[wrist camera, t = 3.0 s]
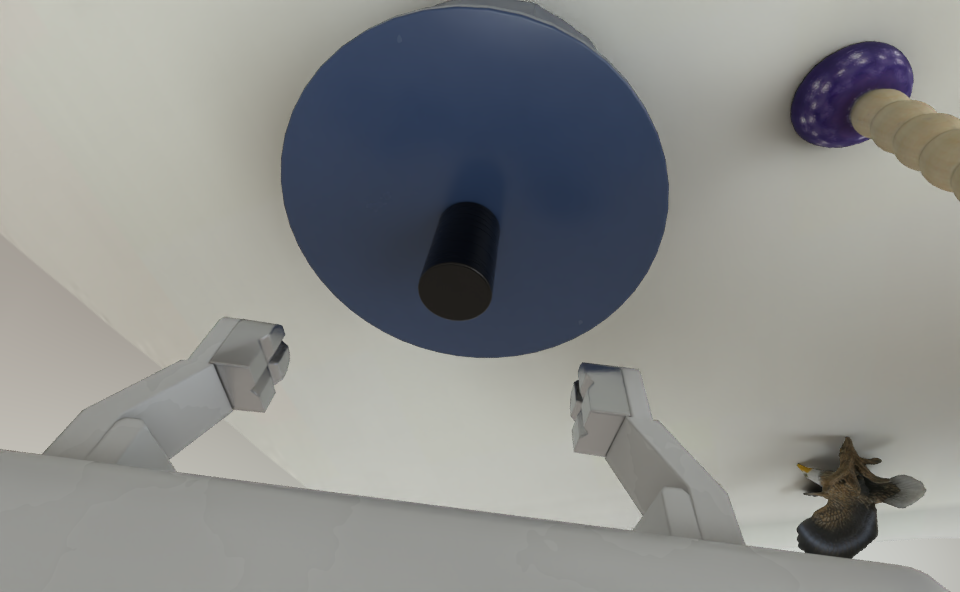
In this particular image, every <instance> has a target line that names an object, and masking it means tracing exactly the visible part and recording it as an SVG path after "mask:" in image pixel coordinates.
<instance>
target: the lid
mask: <svg viewBox="0 0 960 592" xmlns="http://www.w3.org/2000/svg"><path fill="white" fill-rule="evenodd" d="M281 185H282V192H283V200H284V205H285V209H286V213H287V216H288V220H289V224H290V227H291V229H292V231H293V234H294V236H295V238H296V241H297V243H298V246H299V247H300V249H301V251H302V253H303V254H304V256H305V258H306V260H307V261H308V263H309V265H310V266H311V267H312V269H313V270H314V271H315V273H316V274H317V276H318V277H319V278H320V280H321V281H322V282H323V283H324V284H325V285H326V287H327V288H328V289H329V290H330V291H331V292H332V293H333V294H334V295H335V296H336V297H337V298H338V299H339V300H340V301H341V302H342V303H343V304H345V305H346V306H347V307H348V308H349V309H350V310H351V311H353V312H354V313H356V314H357V315H358V316H360V317H361V318H362V319H364V320H365V321H366V322H368V323H370V324H371V325H373V326H375V327H376V328H378V329H380V330H381V331H383V332H385V333H387V334H389V335H391V336H393V337H395V338H398V339H400V340H402V341H404V342H407V343H410V344H412V345H415V346H418V347H421V348H424V349H428V350H432V351H435V352H439V353H444V354H450V355H455V356H464V357H475V358H499V357H510V356H518V355H524V354H529V353H535V352H538V351H542V350H545V349H549V348H552V347H555V346H557V345H560V344H562V343H565V342H567V341H570V340H572V339H574V338H576V337H578V336H580V335H582V334H584V333H585V332H587V331H589V330H591V329H592V328H594V327H595V326H597V325H598V324H599V323H601V322H602V321H604V320H605V319H607V318H608V317H609V316H610V315H611V314H612V313H614V312H615V311H616V310H617V309H618V308H619V307H620V306H621V305H622V304H623V303H624V302H625V301H626V300H627V299H628V298H629V297H630V295H631V294H632V293H633V292H634V291H635V290H636V288H637V287H638V285H639V284H640V282H641V281H642V280H643V278H644V277H645V275H646V274H647V272H648V270H649V268H650V266H651V264H652V262H653V260H654V258H655V256H656V254H657V252H658V249H659V246H660V243H661V240H662V237H663V234H664V230H665V224H666V219H667V213H668V197H669V182H668V175H667V167H666V160H665V156H664V153H663V149H662V146H661V143H660V139H659V136H658V133H657V131H656V129H655V127H654V125H653V123H652V120H651V118H650V116H649V114H648V112H647V110H646V108H645V106H644V105H643V103H642V101H641V100H640V99H639V97H638V96H637V94H636V93H635V91H634V90H633V88H632V87H631V86H630V84H629V83H628V81H627V80H626V79H625V78H624V77H623V76H622V74H621V73H620V72H619V71H618V70H617V69H616V68H615V67H614V66H613V65H612V64H611V63H610V62H609V61H608V60H607V59H606V58H605V57H604V56H603V55H601V54H600V53H599V52H597V51H596V50H595V49H594V48H592V47H591V46H590V45H588V44H587V43H586V42H585V41H583V40H582V39H580V38H579V37H577V36H575V35H573V34H571V33H570V32H568V31H566V30H564V29H562V28H561V27H559V26H557V25H555V24H553V23H551V22H548V21H545V20H543V19H540V18H537V17H535V16H532V15H529V14H526V13H524V12H520V11H515V10H510V9H505V8H500V7H495V6H489V5H468V4H454V5H445V6H436V7H427V8H423V9H419V10H416V11H412V12H408V13H405V14H401V15H397V16H395V17H393V18H391V19H388V20H386V21H384V22H382V23H380V24H377V25H375V26H373V27H371V28H369V29H367V30H366V31H364V32H363V33H361V34H360V35H358V36H357V37H355V38H354V39H352V40H351V41H349V42H348V43H346V44H345V45H343V46H342V47H341V48H340V49H339V50H337V51H336V52H335V53H334V54H333V55H332V56H331V57H330V58H329V59H328V60H327V61H326V62H325V63H324V64H323V65H322V66H321V67H320V68H319V69H318V71H317V72H316V73H315V75H314V76H313V77H312V79H311V80H310V81H309V83H308V84H307V85H306V87H305V88H304V90H303V92H302V94H301V96H300V98H299V100H298V102H297V103H296V105H295V107H294V109H293V111H292V114H291V118H290V121H289V124H288V127H287V130H286V133H285V138H284V144H283V150H282V156H281Z"/></svg>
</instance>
